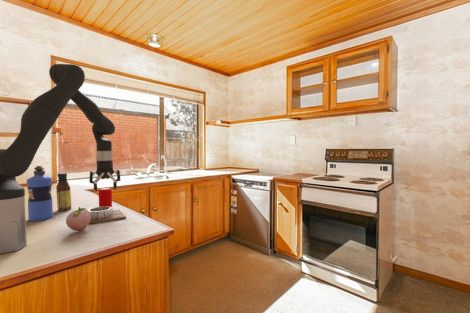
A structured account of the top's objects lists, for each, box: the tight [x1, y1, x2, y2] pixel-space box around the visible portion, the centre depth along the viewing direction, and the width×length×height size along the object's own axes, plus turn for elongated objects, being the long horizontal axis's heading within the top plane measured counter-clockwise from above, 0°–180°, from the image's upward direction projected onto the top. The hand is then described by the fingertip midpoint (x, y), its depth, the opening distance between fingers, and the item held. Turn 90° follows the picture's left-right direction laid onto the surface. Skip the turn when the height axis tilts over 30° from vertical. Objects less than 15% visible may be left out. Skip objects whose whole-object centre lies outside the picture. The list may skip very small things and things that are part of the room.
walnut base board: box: [88, 208, 127, 226], centre depth 114 cm, size 16×20×1 cm
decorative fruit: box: [65, 206, 91, 232], centre depth 96 cm, size 9×8×10 cm
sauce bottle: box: [55, 172, 72, 212], centre depth 129 cm, size 7×6×20 cm
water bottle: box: [26, 165, 54, 222], centre depth 113 cm, size 9×9×25 cm
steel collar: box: [86, 206, 113, 220], centre depth 114 cm, size 10×10×4 cm
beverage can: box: [98, 187, 113, 208], centre depth 127 cm, size 6×6×12 cm
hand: (105, 190), depth 127 cm, fingers open, 8 cm apart
